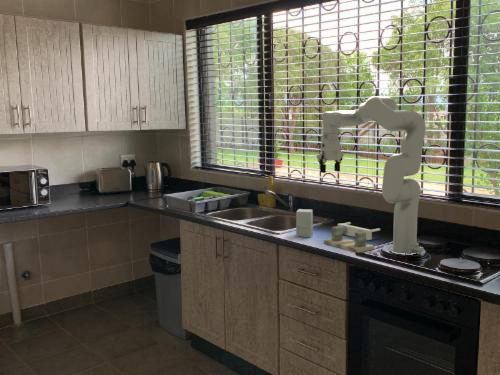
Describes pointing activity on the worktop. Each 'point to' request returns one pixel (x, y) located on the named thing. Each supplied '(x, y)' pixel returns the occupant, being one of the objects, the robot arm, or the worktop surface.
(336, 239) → the display stand
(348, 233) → the glasses
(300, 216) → the supplement box
